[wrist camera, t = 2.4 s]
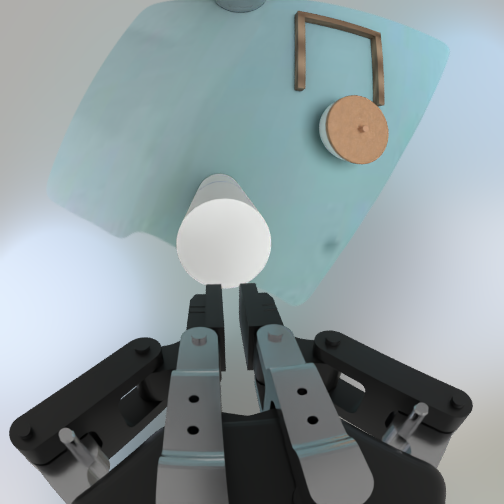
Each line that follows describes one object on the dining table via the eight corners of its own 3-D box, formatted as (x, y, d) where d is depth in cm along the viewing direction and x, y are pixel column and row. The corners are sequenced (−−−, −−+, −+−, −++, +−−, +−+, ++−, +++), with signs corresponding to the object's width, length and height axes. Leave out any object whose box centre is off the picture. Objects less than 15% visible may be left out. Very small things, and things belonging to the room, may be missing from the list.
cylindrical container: (248, 183, 44) (286, 220, 20) (231, 223, 46) (248, 299, 22) (207, 167, 42) (196, 183, 19) (190, 207, 44) (164, 271, 21)
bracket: (378, 106, 41) (384, 105, 39) (294, 90, 39) (298, 87, 37) (375, 36, 36) (380, 33, 34) (294, 15, 33) (297, 10, 32)
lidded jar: (375, 138, 43) (405, 138, 35) (336, 173, 45) (362, 179, 36) (340, 91, 40) (366, 80, 31) (297, 125, 41) (317, 120, 32)
